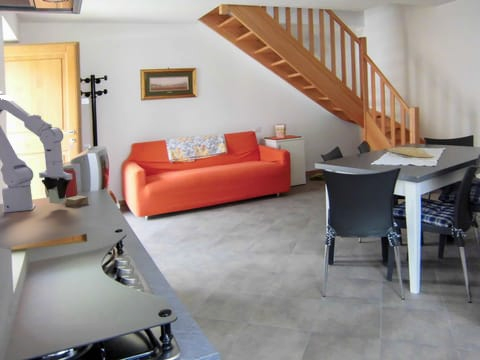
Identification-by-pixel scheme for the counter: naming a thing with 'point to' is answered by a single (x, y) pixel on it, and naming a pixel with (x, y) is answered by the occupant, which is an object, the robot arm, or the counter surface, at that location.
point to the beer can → (71, 183)
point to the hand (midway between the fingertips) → (57, 197)
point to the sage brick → (55, 196)
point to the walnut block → (76, 201)
